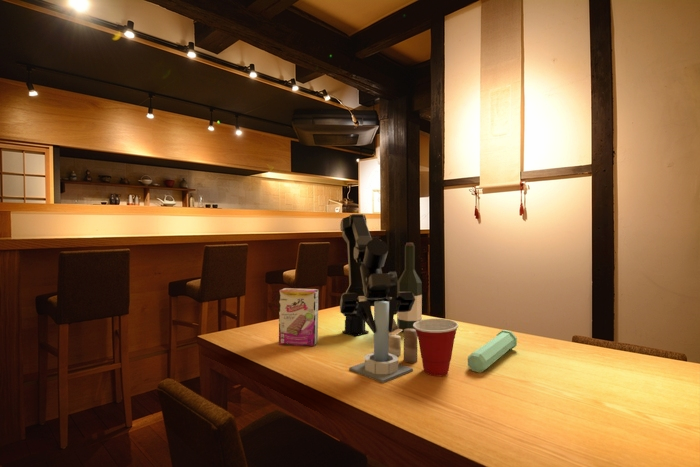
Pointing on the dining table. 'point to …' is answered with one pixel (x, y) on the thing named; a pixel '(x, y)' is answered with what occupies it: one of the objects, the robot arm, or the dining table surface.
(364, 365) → the socket
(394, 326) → the architectural model
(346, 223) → the robot arm
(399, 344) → the short dowel
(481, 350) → the container
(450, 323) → the plastic cup
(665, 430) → the dining table surface
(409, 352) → the medium dowel
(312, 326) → the candy bar box
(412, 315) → the wine bottle
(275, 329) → the dining table surface
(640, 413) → the dining table surface
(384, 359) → the long dowel
